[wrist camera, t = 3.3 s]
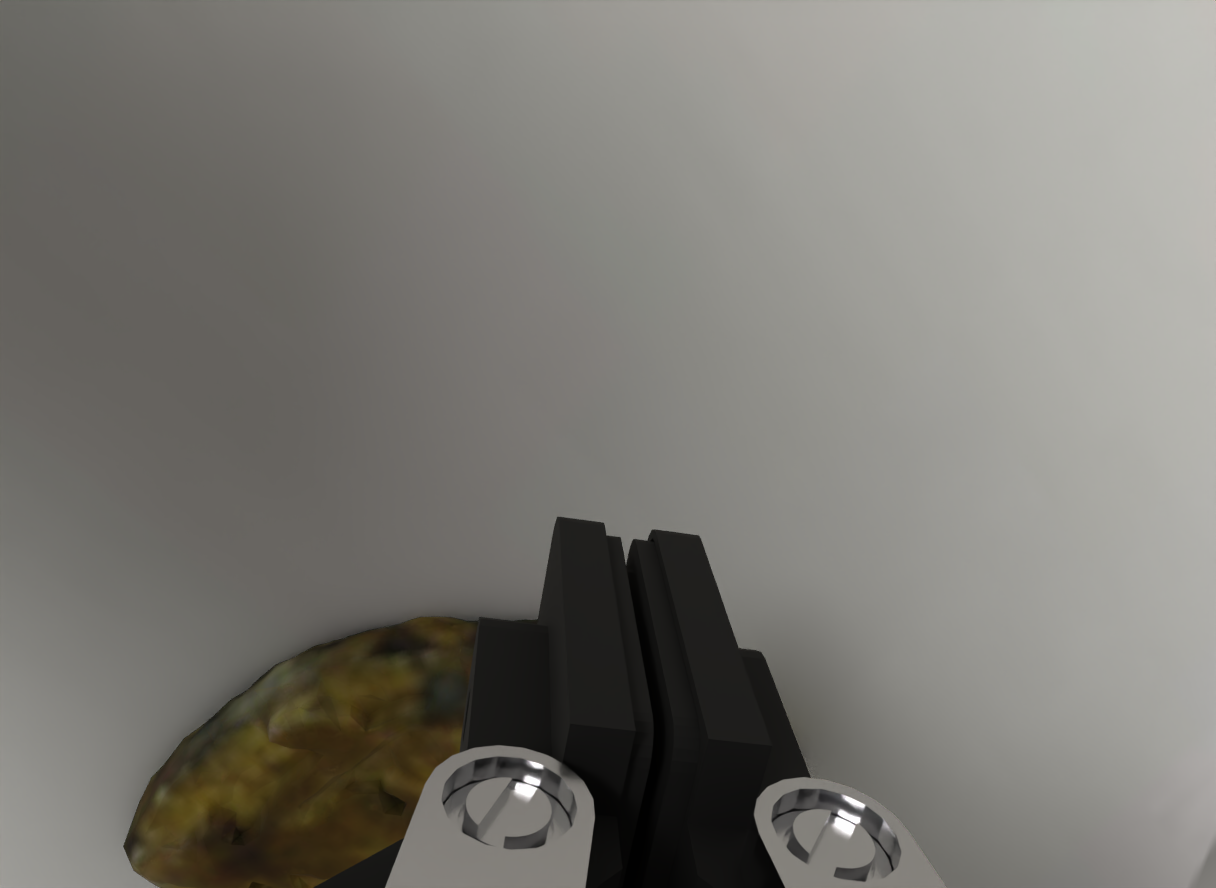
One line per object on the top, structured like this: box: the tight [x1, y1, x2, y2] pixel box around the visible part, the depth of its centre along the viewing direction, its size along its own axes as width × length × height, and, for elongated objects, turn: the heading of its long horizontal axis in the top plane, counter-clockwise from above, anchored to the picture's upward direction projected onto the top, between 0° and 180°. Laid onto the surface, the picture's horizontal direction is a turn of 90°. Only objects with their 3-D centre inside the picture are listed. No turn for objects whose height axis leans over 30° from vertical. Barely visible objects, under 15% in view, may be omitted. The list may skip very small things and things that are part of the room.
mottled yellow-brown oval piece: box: [123, 617, 538, 888], centre depth 22 cm, size 9×5×15 cm
